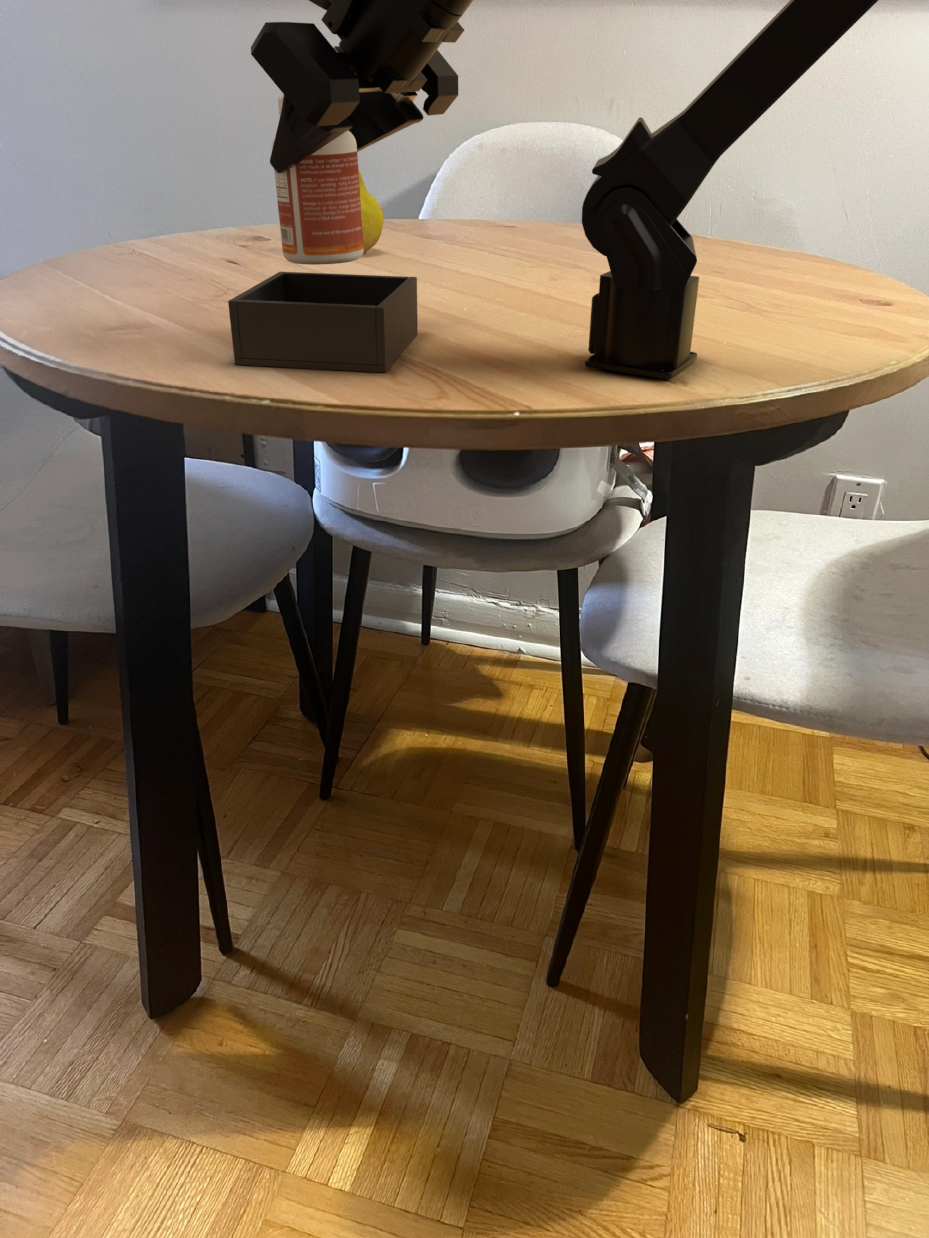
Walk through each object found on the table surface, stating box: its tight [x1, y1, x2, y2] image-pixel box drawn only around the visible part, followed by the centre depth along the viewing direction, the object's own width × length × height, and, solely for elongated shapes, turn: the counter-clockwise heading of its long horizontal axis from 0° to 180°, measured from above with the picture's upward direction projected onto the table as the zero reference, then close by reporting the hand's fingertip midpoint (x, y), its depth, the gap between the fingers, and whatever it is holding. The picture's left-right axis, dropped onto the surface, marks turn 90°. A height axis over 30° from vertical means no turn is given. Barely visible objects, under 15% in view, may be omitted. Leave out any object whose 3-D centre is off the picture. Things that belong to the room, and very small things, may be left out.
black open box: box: [227, 271, 419, 374], centre depth 74 cm, size 11×11×4 cm
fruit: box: [359, 170, 385, 254], centre depth 110 cm, size 7×7×12 cm
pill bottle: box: [271, 95, 364, 266], centre depth 73 cm, size 6×6×11 cm
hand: (301, 164), depth 73 cm, fingers closed on pill bottle, 6 cm apart
